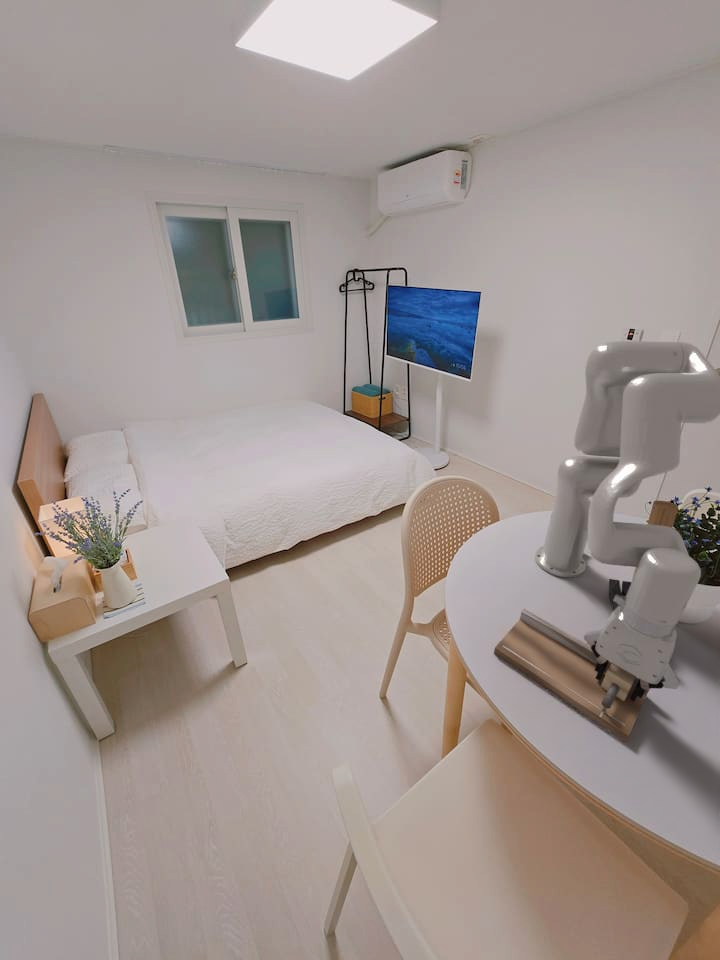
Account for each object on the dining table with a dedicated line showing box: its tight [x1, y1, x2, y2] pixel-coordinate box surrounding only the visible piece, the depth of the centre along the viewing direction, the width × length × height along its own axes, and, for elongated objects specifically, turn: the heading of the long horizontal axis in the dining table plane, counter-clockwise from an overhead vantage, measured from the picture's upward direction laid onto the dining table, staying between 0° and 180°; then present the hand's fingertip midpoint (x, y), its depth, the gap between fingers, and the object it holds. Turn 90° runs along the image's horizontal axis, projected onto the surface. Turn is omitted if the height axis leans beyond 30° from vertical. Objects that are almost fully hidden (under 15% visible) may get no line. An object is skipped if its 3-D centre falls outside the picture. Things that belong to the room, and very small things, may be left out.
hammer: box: [608, 500, 679, 611], centre depth 86 cm, size 20×5×30 cm, turn 165°
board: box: [493, 608, 651, 743], centre depth 79 cm, size 12×25×4 cm, turn 44°
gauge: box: [601, 663, 636, 712], centre depth 73 cm, size 9×4×4 cm, turn 134°
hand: (616, 684), depth 75 cm, fingers open, 5 cm apart
